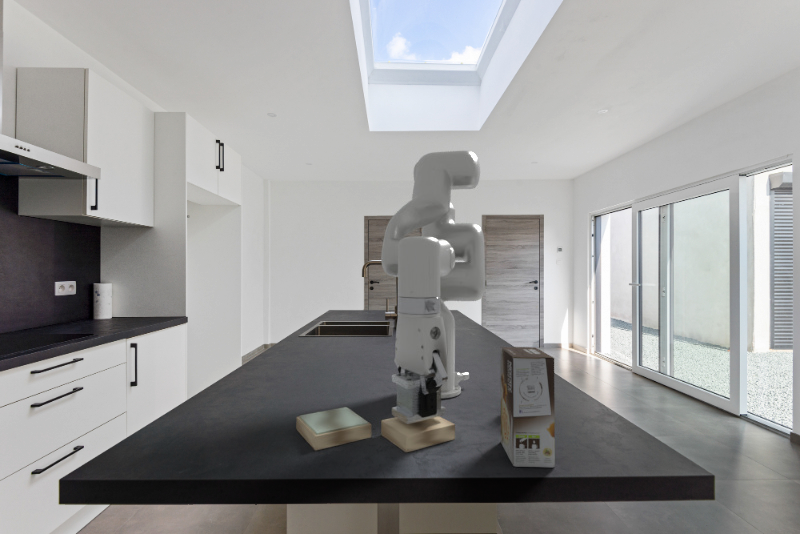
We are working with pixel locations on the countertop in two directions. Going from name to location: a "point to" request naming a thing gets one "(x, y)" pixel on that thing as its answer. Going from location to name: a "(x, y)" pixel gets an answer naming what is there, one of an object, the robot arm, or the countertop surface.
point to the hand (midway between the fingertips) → (418, 409)
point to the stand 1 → (332, 428)
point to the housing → (411, 398)
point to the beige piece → (417, 432)
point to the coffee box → (527, 406)
